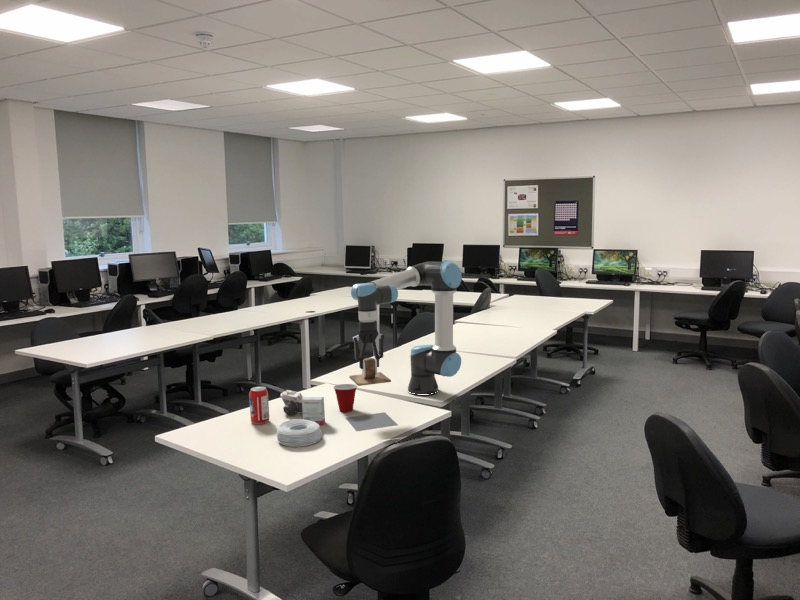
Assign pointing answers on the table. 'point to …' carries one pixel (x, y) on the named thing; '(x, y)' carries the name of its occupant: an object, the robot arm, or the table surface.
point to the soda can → (259, 405)
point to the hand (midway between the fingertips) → (369, 375)
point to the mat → (371, 421)
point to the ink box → (314, 409)
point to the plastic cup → (345, 396)
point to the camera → (292, 402)
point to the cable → (298, 433)
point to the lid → (369, 375)
